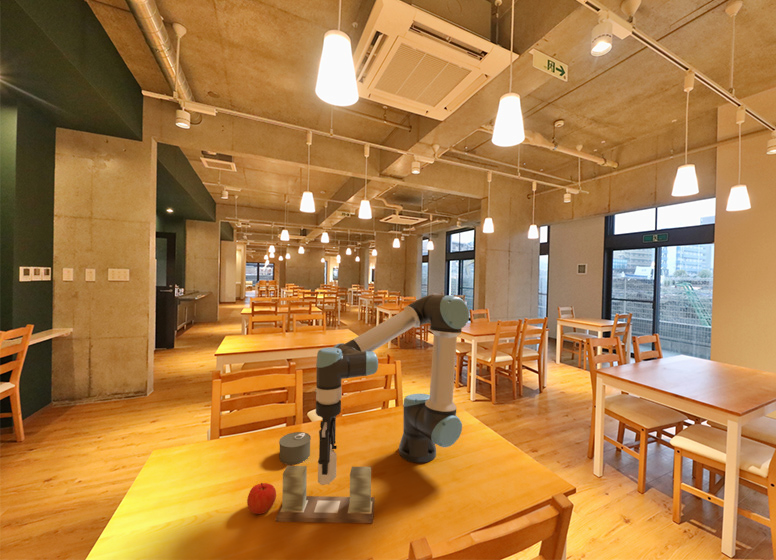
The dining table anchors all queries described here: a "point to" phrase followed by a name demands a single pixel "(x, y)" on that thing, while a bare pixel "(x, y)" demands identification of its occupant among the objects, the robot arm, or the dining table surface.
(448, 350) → the robot arm
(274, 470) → the dining table surface
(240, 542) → the dining table surface
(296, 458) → the can
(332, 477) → the eye dropper bottle
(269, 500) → the apple
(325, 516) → the wooden base with posts
